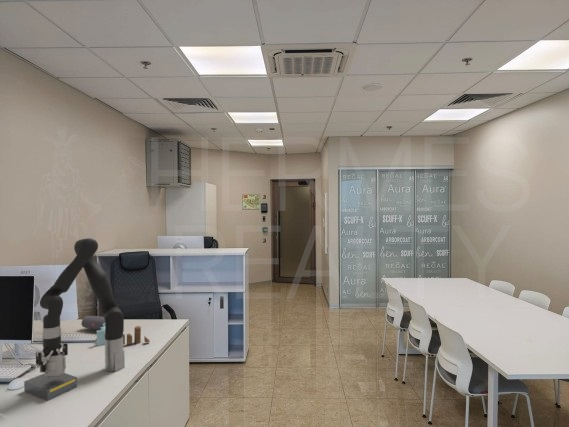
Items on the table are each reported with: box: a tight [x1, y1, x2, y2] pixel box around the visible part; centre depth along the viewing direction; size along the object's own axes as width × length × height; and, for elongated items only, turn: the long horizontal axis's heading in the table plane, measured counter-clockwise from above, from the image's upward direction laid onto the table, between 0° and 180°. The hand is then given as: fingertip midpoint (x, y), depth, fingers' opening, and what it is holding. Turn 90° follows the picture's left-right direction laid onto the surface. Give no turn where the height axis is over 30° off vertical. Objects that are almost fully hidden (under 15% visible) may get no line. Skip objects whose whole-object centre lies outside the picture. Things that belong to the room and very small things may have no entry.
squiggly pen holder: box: [96, 323, 105, 347], centre depth 239 cm, size 18×10×9 cm, turn 20°
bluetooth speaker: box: [81, 315, 105, 332], centre depth 260 cm, size 23×9×10 cm, turn 73°
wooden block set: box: [123, 325, 150, 346], centre depth 231 cm, size 18×9×10 cm, turn 118°
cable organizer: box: [39, 351, 67, 377], centre depth 174 cm, size 6×11×11 cm, turn 95°
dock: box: [23, 372, 78, 402], centre depth 174 cm, size 19×14×5 cm
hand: (52, 368), depth 173 cm, fingers closed on cable organizer, 7 cm apart
